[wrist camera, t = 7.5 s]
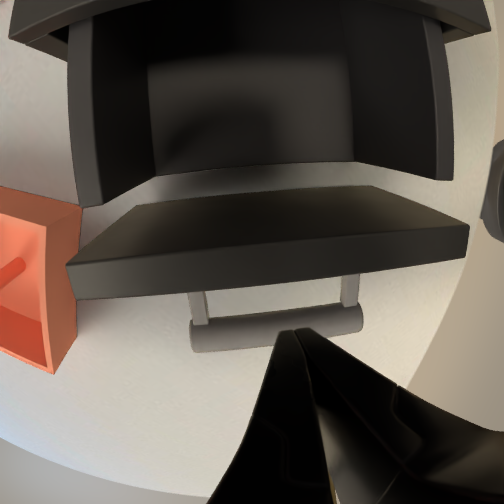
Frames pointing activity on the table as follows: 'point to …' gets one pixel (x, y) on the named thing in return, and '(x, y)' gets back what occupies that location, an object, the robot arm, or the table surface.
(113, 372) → the table surface
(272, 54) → the dark grey drawer
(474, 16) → the dark grey drawer box
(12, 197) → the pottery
